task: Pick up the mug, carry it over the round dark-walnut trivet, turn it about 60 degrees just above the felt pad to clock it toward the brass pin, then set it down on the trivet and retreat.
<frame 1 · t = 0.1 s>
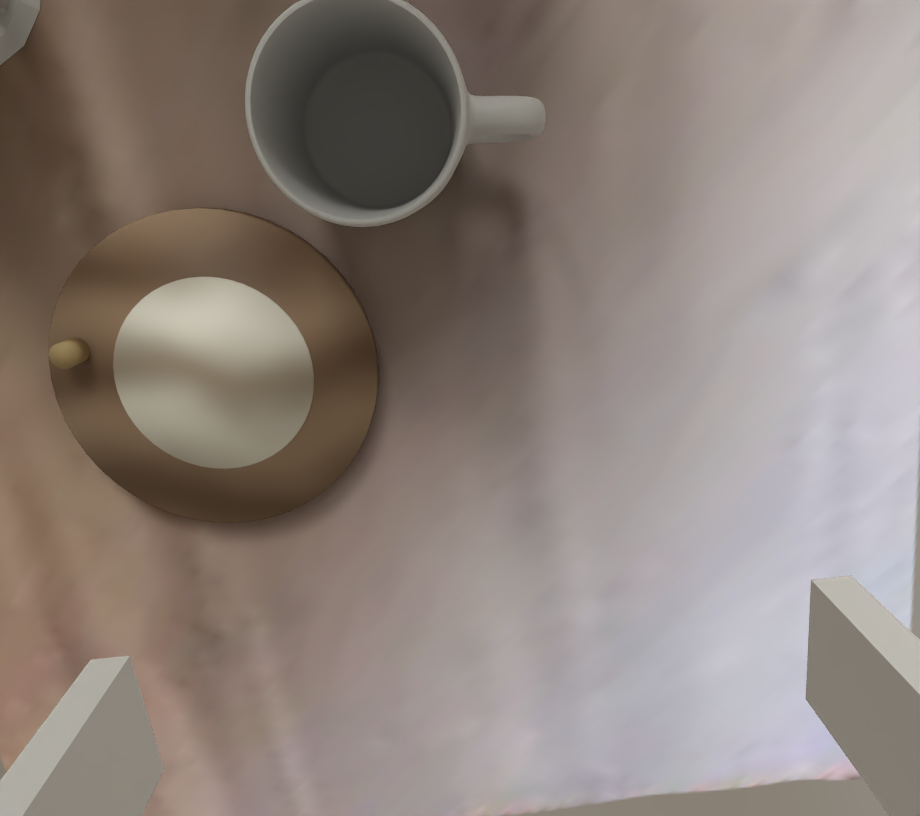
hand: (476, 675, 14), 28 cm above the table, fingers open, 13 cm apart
trivet: (221, 371, 40), on the table
mug: (414, 133, 37), on the table
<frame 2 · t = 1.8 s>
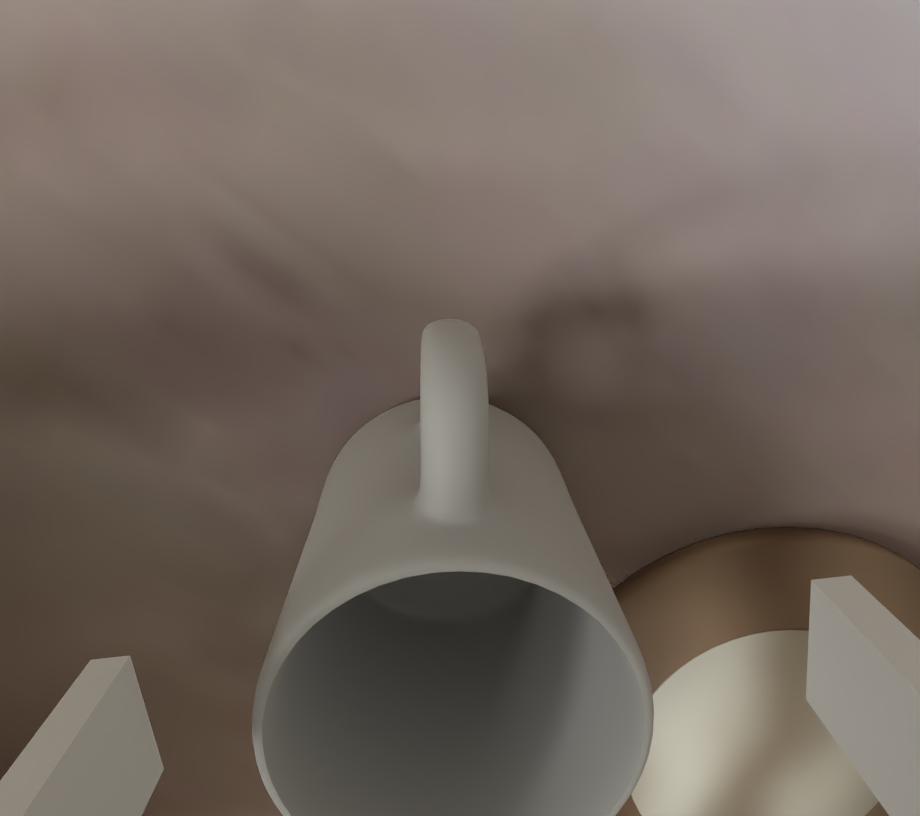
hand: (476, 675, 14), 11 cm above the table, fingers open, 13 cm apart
trivet: (752, 728, 28), on the table
mug: (444, 460, 24), on the table
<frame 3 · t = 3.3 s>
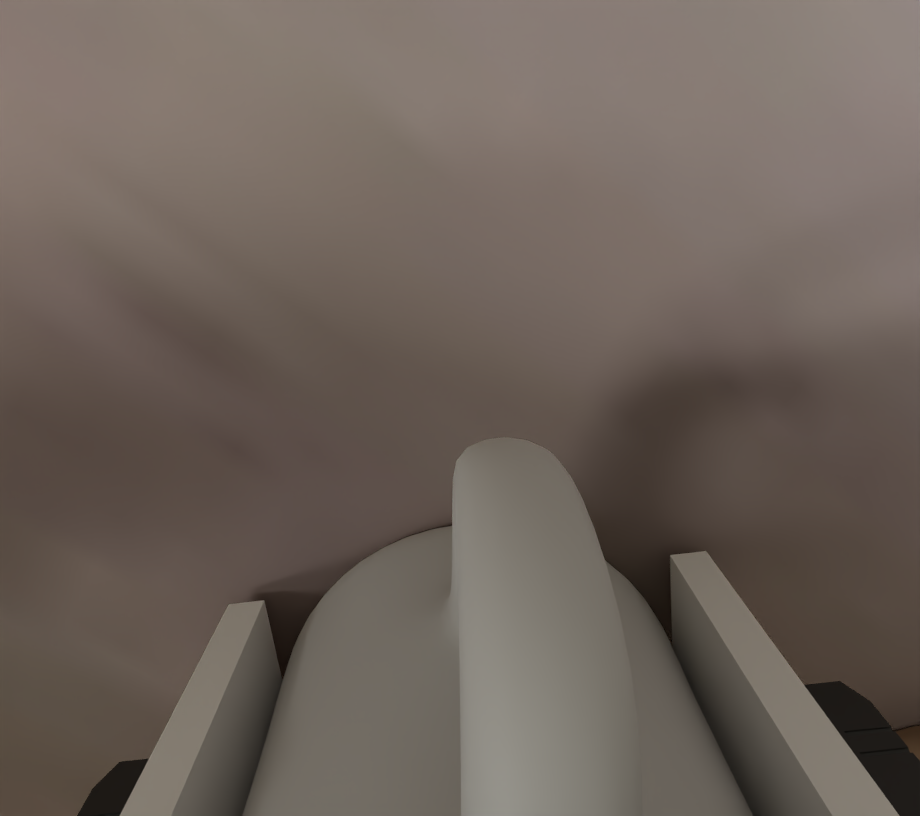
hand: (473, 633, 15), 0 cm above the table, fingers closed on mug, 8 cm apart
mug: (480, 616, 15), on the table, touching gripper
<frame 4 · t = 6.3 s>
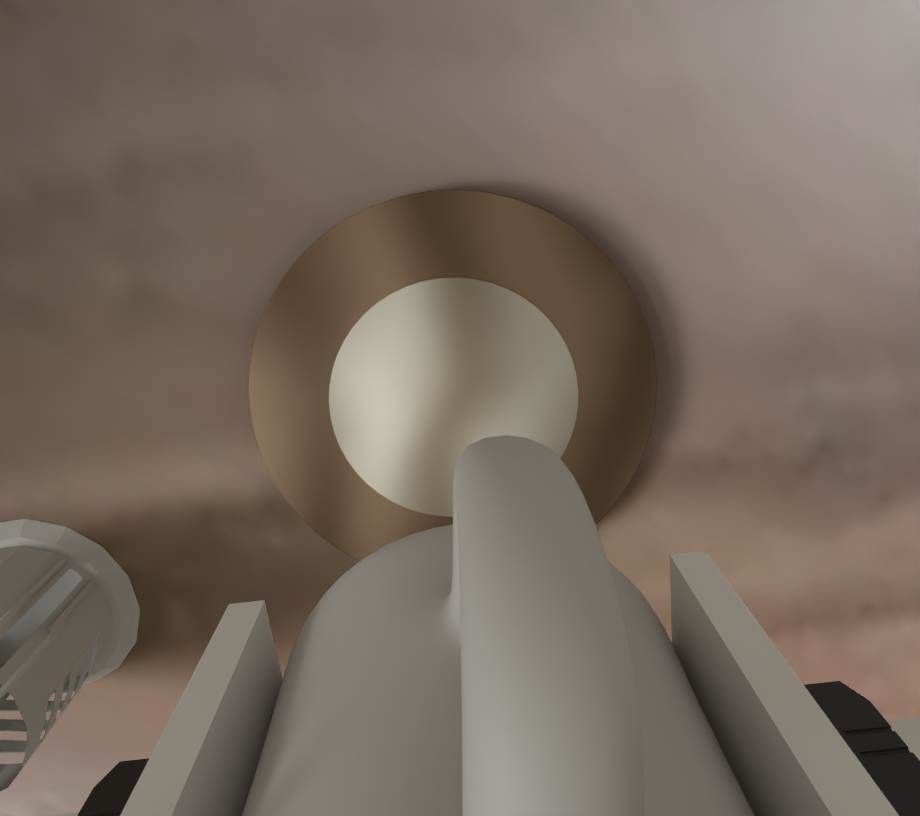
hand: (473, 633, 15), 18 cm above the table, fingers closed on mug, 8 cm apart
trivet: (453, 395, 32), on the table
mug: (481, 615, 15), point 17 cm above the table, touching gripper
french press: (53, 594, 35), on the table
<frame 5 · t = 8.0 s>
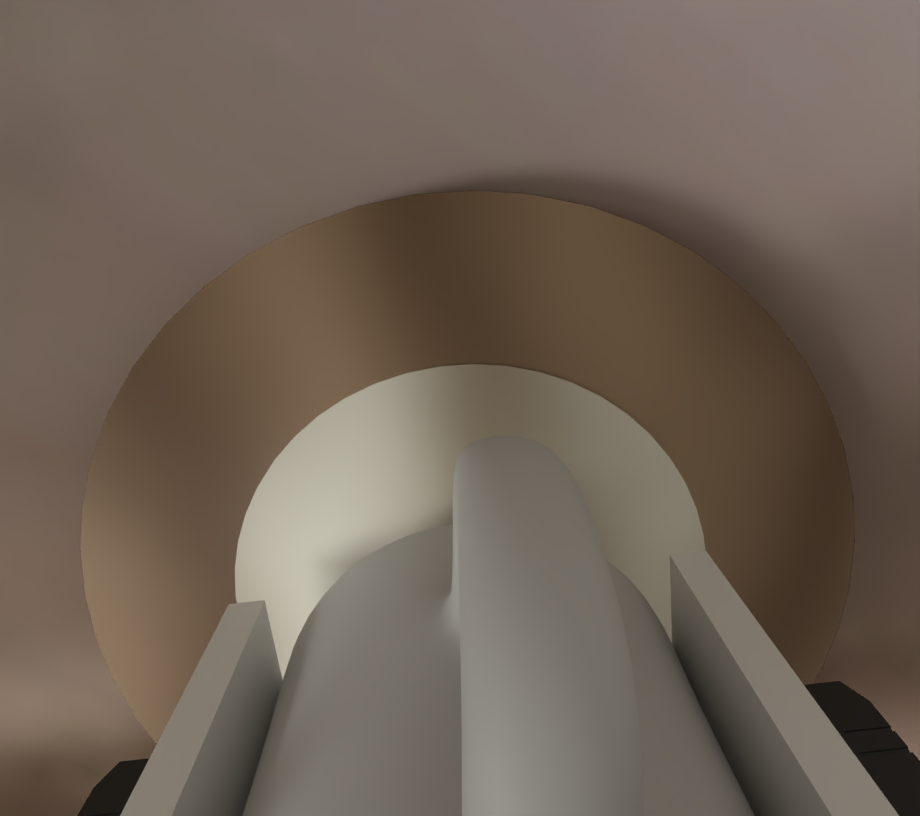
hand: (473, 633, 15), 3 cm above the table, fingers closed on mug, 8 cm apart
trivet: (470, 564, 18), on the table
mug: (481, 615, 15), point 2 cm above the table, touching gripper
when the fingers open (2 cm above the table, at t = 9.4 s): mug stays where it is, resting on trivet.
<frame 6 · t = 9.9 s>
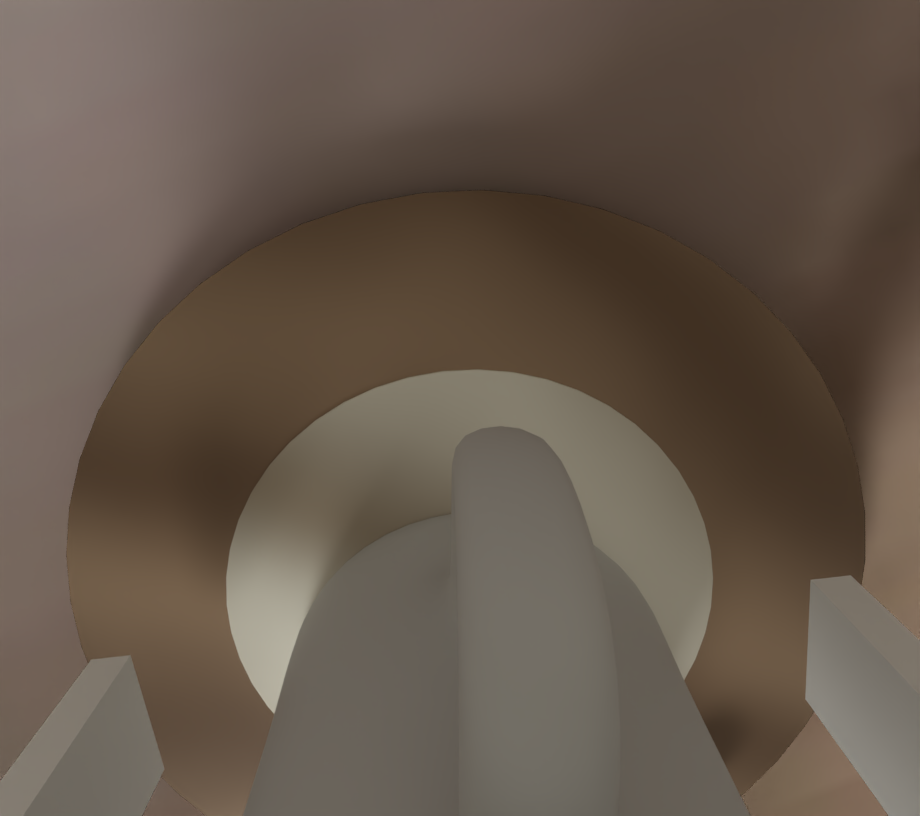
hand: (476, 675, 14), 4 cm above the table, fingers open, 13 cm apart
trivet: (469, 575, 17), on the table
mug: (478, 602, 16), point 1 cm above the table, touching trivet
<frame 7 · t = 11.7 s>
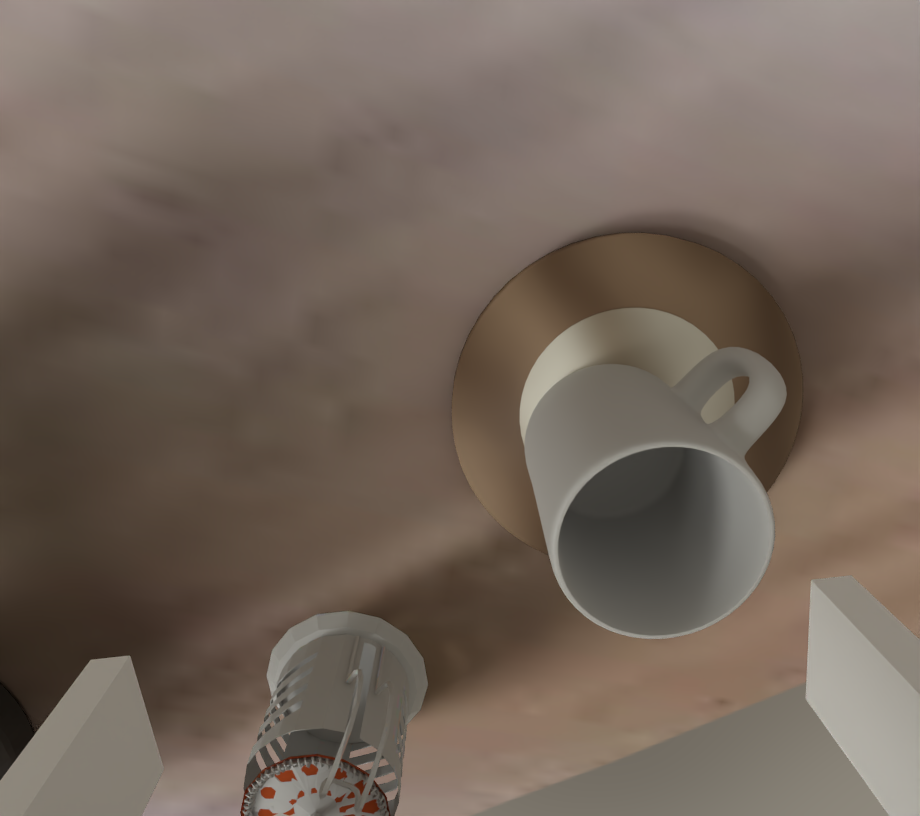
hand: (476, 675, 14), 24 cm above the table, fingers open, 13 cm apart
trivet: (621, 406, 37), on the table
mug: (627, 415, 36), point 1 cm above the table, touching trivet
french press: (353, 667, 42), on the table
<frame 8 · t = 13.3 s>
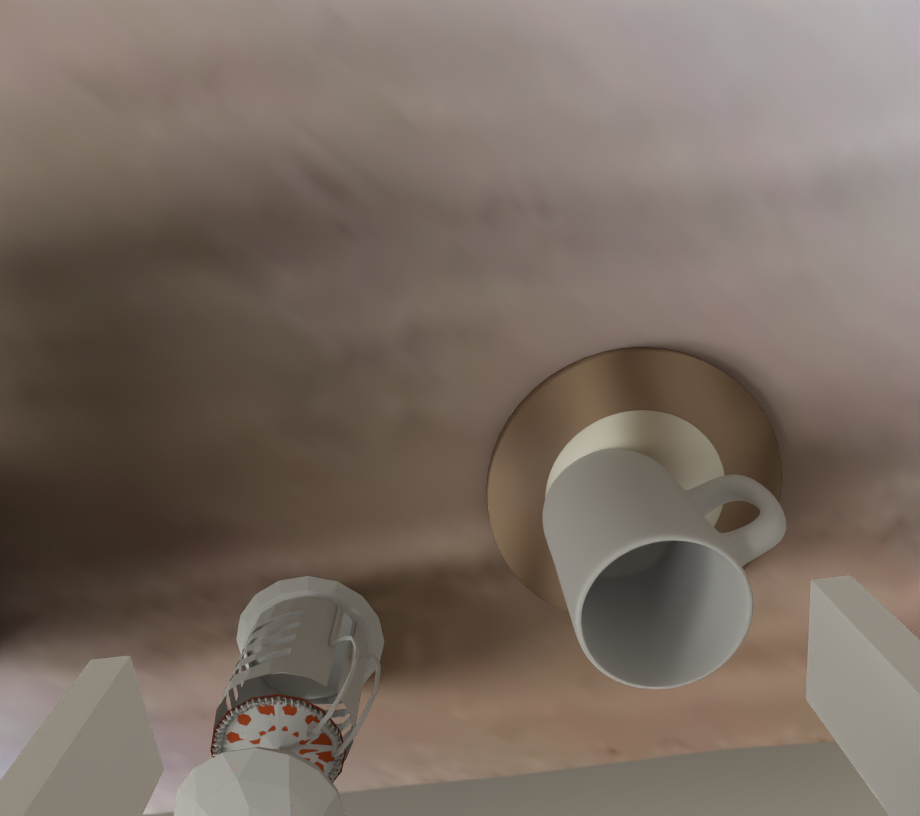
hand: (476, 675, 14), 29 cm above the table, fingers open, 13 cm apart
trivet: (629, 487, 44), on the table
mug: (635, 497, 43), point 1 cm above the table, touching trivet
french press: (320, 631, 47), on the table
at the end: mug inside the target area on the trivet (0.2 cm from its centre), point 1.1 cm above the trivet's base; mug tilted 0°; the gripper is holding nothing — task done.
